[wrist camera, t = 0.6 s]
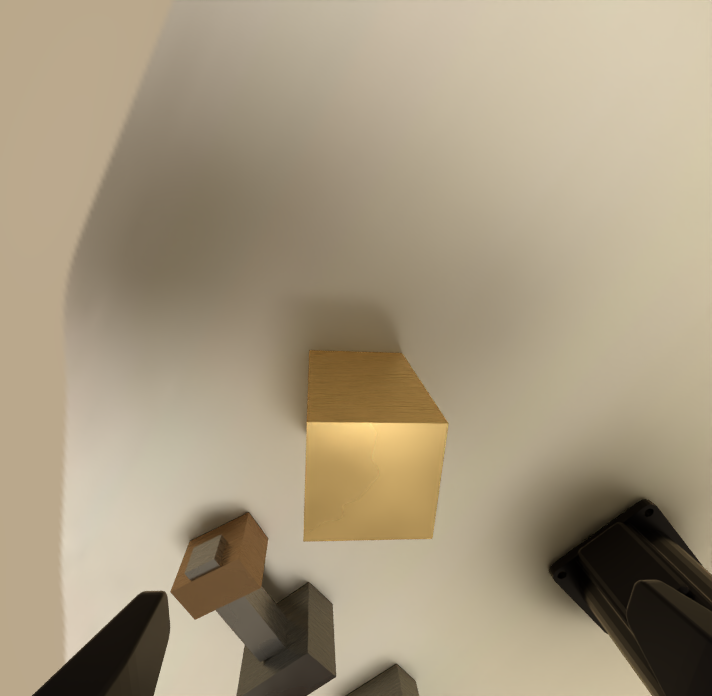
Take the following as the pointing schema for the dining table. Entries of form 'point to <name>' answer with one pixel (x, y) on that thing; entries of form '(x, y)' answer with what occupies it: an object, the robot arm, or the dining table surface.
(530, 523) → the dining table surface
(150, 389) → the dining table surface
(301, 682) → the shaft rig
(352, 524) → the coupler
